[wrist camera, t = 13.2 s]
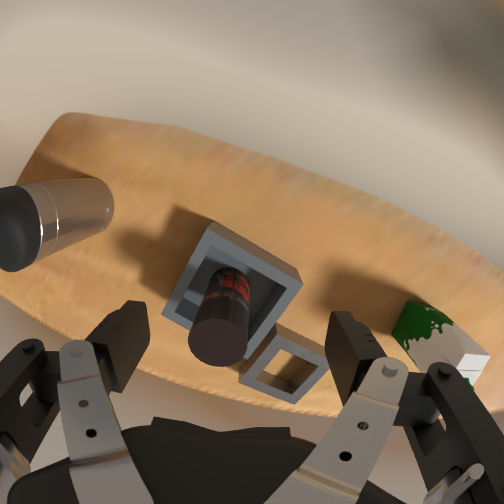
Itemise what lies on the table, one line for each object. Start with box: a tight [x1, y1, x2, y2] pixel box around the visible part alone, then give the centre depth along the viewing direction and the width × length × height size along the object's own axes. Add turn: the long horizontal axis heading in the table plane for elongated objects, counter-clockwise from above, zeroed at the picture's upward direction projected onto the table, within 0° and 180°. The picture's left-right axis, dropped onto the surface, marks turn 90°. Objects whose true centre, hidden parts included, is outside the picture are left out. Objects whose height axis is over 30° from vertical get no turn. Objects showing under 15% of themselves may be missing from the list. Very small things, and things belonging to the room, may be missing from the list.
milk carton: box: [391, 300, 490, 391], centre depth 34 cm, size 9×9×20 cm
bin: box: [161, 221, 303, 360], centre depth 39 cm, size 14×14×6 cm
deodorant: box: [188, 267, 250, 367], centre depth 33 cm, size 6×6×15 cm
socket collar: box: [238, 323, 330, 404], centre depth 44 cm, size 12×12×4 cm
